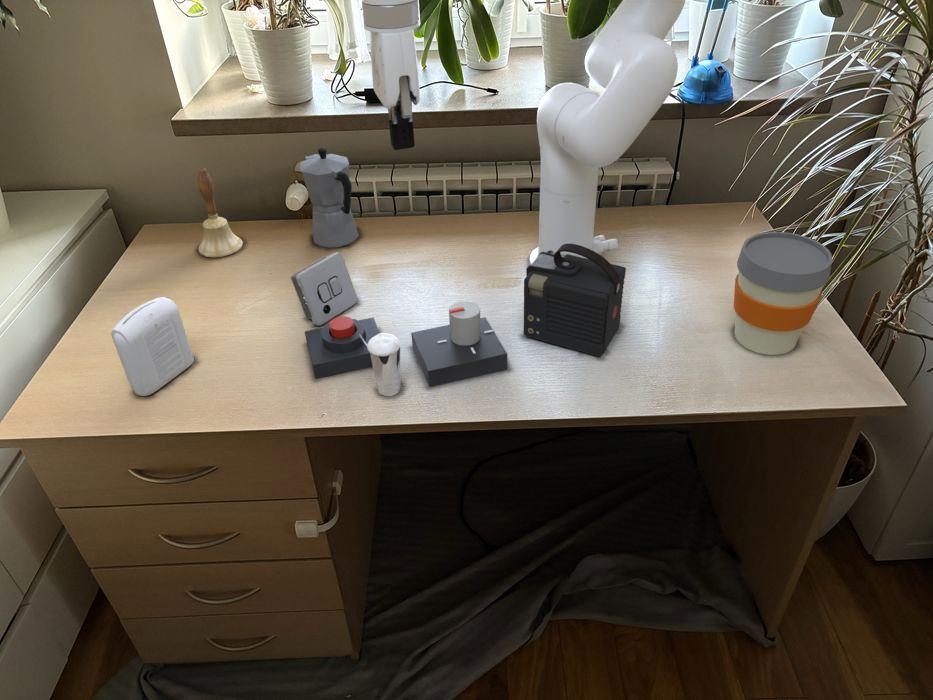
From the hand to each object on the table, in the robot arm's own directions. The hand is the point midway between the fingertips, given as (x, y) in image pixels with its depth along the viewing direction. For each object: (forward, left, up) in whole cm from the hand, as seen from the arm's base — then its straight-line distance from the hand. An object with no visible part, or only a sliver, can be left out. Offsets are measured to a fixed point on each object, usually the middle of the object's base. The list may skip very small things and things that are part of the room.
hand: (403, 146), depth 110 cm
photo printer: (+41, +7, -27) cm, 50 cm away
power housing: (+14, +11, -27) cm, 32 cm away
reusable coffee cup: (-48, +29, -27) cm, 62 cm away
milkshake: (+10, +21, -27) cm, 36 cm away
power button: (+14, +11, -23) cm, 29 cm away
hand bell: (+31, -31, -27) cm, 52 cm away
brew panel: (-2, +18, -27) cm, 33 cm away
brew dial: (-3, +17, -24) cm, 30 cm away
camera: (-21, +17, -27) cm, 38 cm away
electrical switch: (+15, -2, -27) cm, 31 cm away
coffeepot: (+9, -26, -27) cm, 39 cm away
